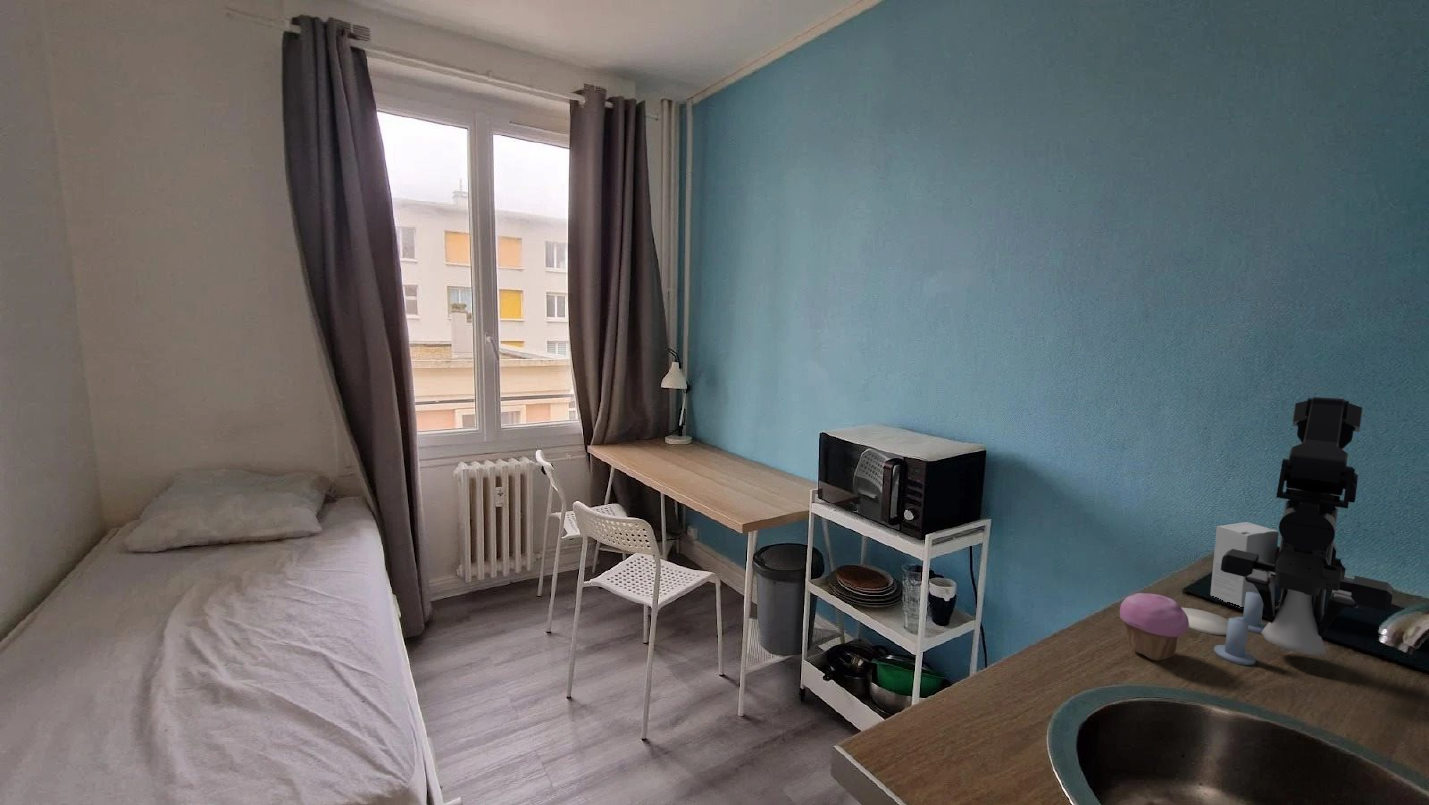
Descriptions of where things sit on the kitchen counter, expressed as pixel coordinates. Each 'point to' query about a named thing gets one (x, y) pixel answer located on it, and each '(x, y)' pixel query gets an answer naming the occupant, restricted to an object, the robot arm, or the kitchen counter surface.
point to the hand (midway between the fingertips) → (1294, 628)
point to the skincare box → (1244, 540)
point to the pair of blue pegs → (1242, 631)
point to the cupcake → (1153, 624)
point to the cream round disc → (1206, 622)
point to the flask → (1295, 626)
